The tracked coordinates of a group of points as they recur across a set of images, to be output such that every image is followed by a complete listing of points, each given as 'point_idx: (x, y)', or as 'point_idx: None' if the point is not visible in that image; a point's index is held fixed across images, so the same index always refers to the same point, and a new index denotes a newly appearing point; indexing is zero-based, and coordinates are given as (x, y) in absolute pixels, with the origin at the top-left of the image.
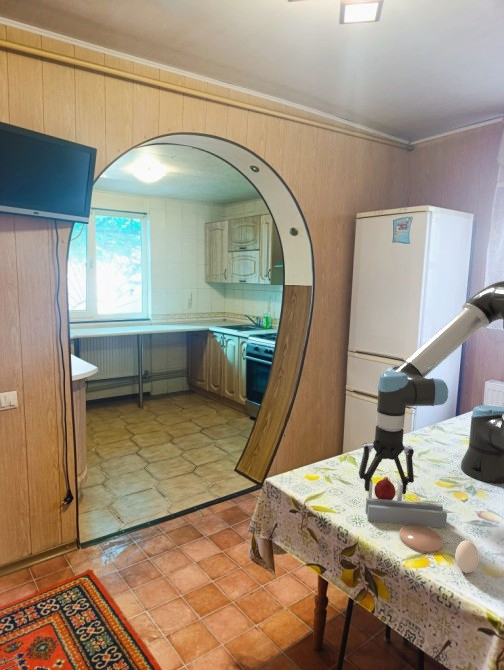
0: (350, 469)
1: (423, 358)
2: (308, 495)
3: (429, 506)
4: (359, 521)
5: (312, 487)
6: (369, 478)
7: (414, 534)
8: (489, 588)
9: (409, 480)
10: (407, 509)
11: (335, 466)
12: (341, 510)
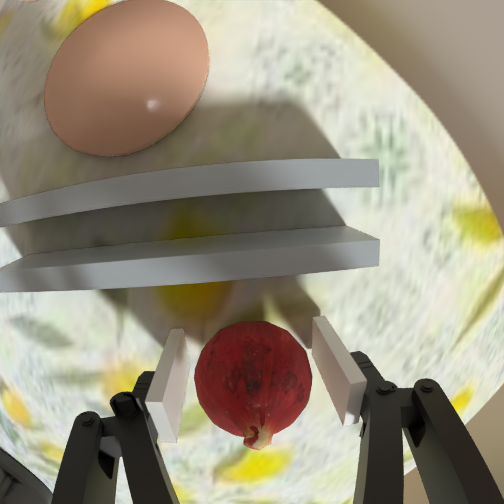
0: (333, 485)
1: None
2: (497, 300)
3: (33, 266)
4: (378, 153)
5: (476, 353)
6: (380, 396)
7: (141, 68)
8: None
9: (100, 423)
10: (135, 183)
11: None
12: (434, 229)
